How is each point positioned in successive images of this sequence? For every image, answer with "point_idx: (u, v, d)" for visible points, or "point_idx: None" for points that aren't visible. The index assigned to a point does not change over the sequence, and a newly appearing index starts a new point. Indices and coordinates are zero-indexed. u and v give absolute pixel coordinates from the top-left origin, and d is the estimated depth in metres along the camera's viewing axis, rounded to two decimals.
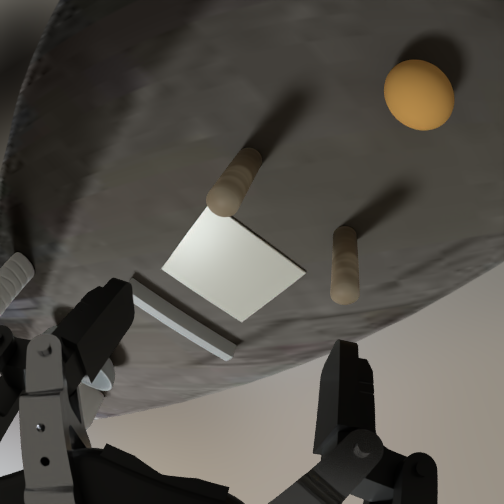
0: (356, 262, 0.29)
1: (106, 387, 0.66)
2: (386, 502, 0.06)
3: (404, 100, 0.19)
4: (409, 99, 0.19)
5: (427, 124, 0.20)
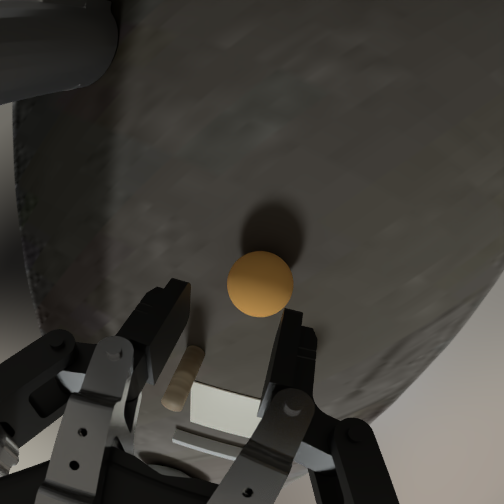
0: None
1: None
2: (332, 472, 0.07)
3: (239, 308, 0.28)
4: (240, 307, 0.28)
5: (268, 314, 0.28)
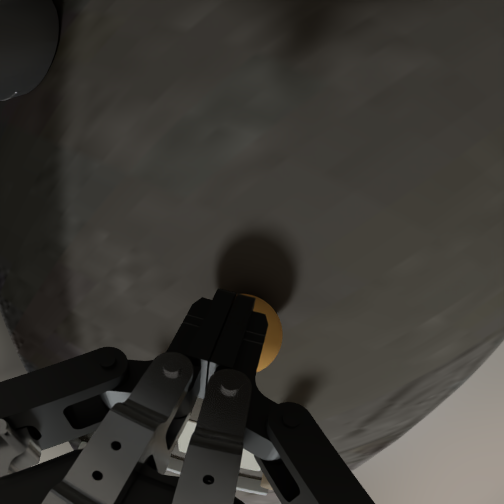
0: None
1: None
2: (280, 460, 0.08)
3: None
4: None
5: None
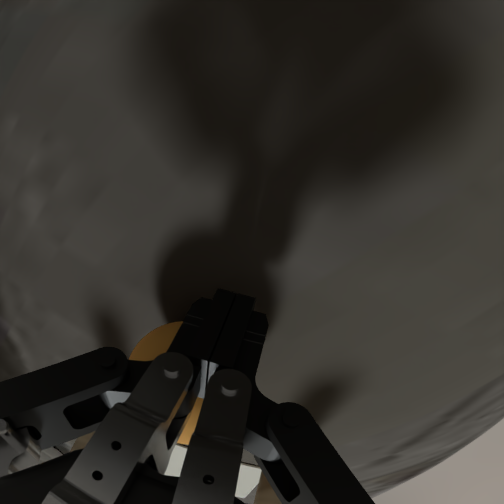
0: None
1: None
2: (280, 460, 0.08)
3: None
4: None
5: None
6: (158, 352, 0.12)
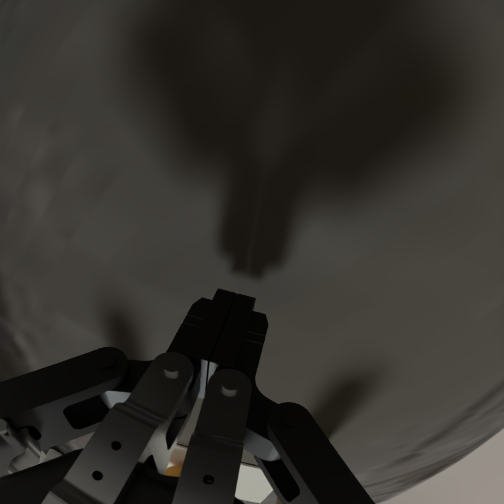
0: None
1: None
2: (280, 460, 0.08)
3: (180, 465, 0.27)
4: None
5: None
6: None
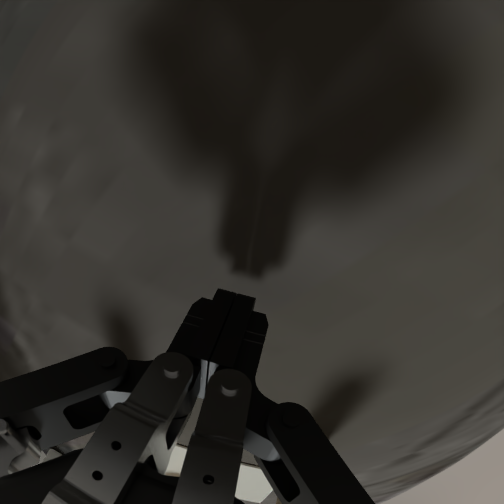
0: None
1: None
2: (280, 460, 0.08)
3: None
4: None
5: None
6: None
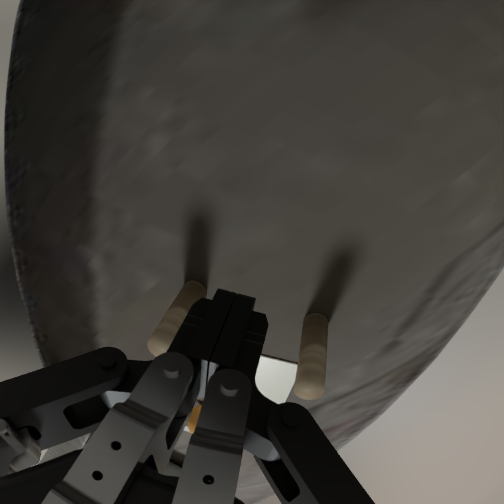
0: (318, 352, 0.27)
1: None
2: (280, 460, 0.08)
3: None
4: None
5: None
6: None
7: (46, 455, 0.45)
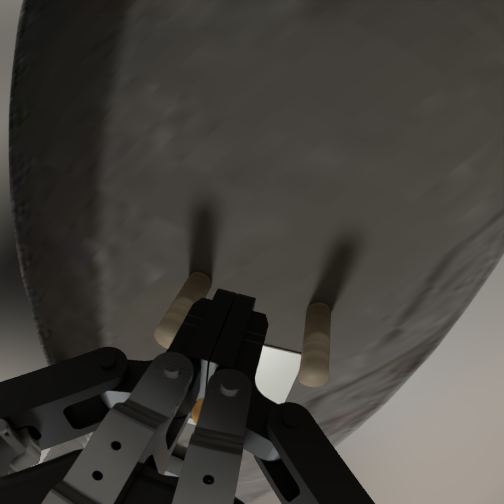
0: (322, 340, 0.28)
1: None
2: (280, 459, 0.08)
3: None
4: None
5: None
6: None
7: (51, 451, 0.46)
